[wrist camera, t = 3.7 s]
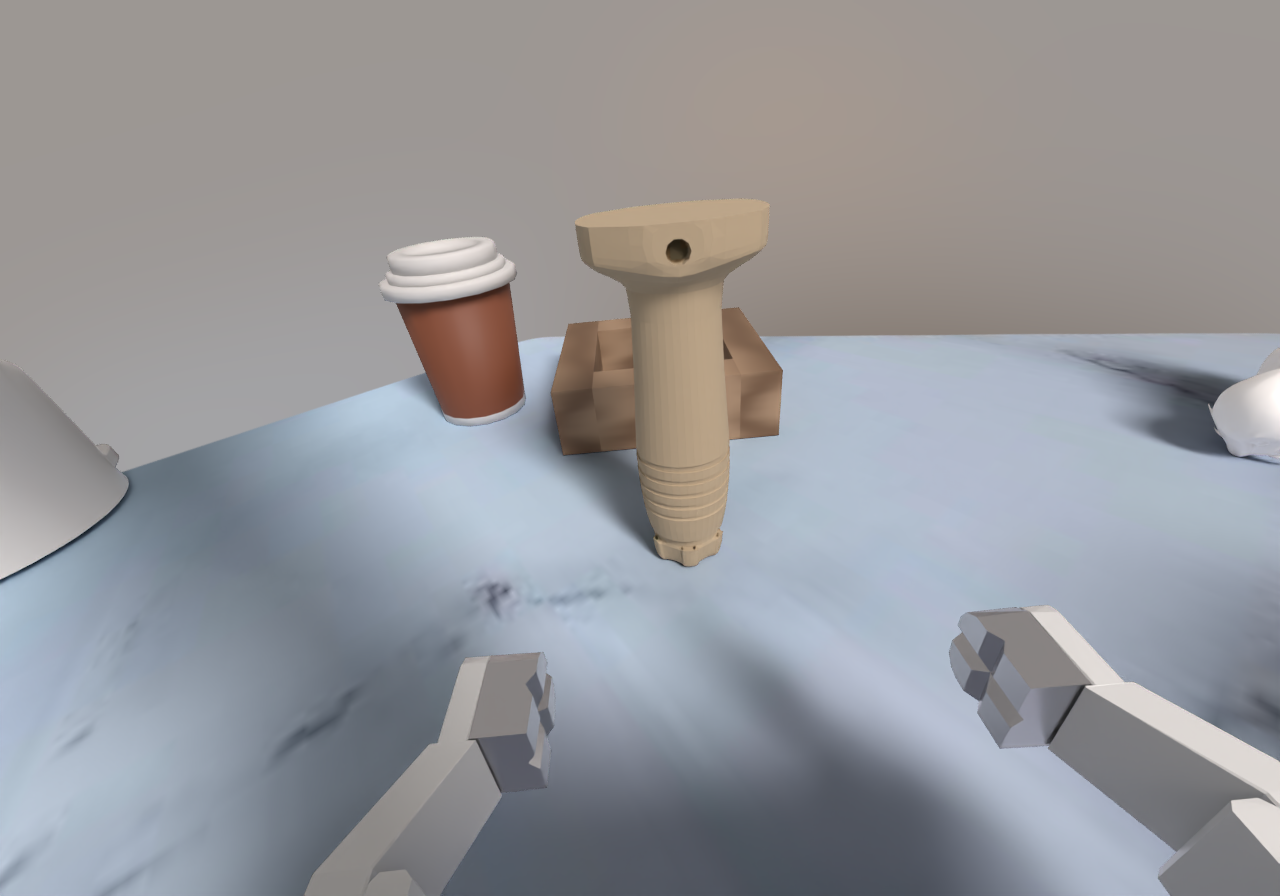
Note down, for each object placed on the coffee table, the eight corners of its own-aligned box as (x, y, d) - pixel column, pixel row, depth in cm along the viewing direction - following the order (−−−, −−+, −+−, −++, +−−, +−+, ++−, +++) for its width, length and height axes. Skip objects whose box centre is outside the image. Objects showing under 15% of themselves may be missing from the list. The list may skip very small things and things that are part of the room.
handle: (622, 519, 27) (580, 212, 19) (743, 509, 27) (751, 194, 19) (622, 589, 23) (568, 233, 15) (765, 577, 23) (786, 211, 15)
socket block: (563, 455, 33) (550, 392, 31) (576, 374, 44) (568, 324, 42) (778, 434, 33) (782, 370, 30) (738, 359, 44) (738, 307, 42)
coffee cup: (554, 379, 44) (525, 229, 37) (524, 433, 36) (482, 256, 30) (453, 384, 45) (409, 239, 38) (404, 437, 37) (338, 267, 31)
